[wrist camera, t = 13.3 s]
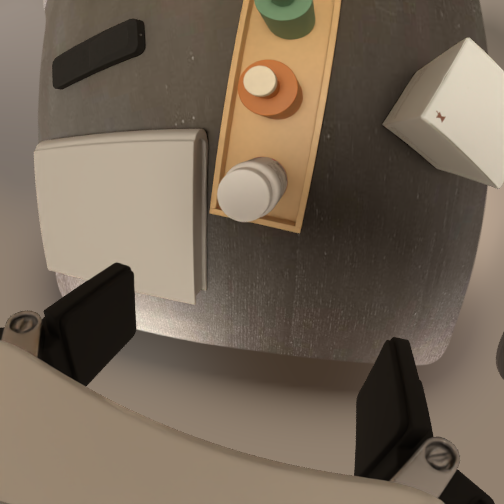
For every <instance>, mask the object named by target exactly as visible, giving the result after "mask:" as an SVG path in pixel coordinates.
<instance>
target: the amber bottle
mask: <svg viewBox="0 0 504 504" xmlns="http://www.w3.org/2000/svg"><path fill="white" fill-rule="evenodd" d="M238 95H239V98H240V100H241V102H242V103H243V105H244V106H245V107H246V108H247V109H248V110H250V111H251V112H253V113H255V114H258V115H261V116H264V117H267V118H270V119H275V120H281V119H286V118H288V117H290V116H292V115H293V114H295V113H296V112H297V111H298V109H299V108H300V106H301V104H302V100H303V93H302V89H301V86H300V84H299V82H298V80H297V78H296V76H295V74H294V73H293V71H292V70H291V69H290V68H289V67H288V66H287V65H285V64H284V63H282V62H279V61H276V60H270V59H269V60H260V61H257V62H255V63H253V64H251V65H250V66H248V67H247V68H246V69H245V70H244V71H243V73H242V74H241V76H240V78H239V81H238Z"/></svg>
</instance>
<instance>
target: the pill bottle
mask: <svg viewBox="0 0 504 504" xmlns="http://www.w3.org/2000/svg"><path fill="white" fill-rule="evenodd" d="M286 188H287V174H286V172H285V169H284V168H283V166H282V165H281V164H280V163H279V162H277V161H276V160H274V159H272V158H269V157H257V158H253V159H251V160H248V161H245V162H242V163H239V164H237V165H235V166H234V167H232V168H231V169H230V170H229V171H228V172H227V174H226V176H225V177H224V178H223V179H222V180H221V182H220V184H219V186H218V191H217V199H218V203H219V205H220V207H221V209H222V211H223V212H224V213H225V214H226V215H227V216H228V217H230V218H231V219H233V220H236V221H239V222H250V221H253V220H256V219H258V218H260V217H263V216H265V215H266V214H268V213H269V212H270V211H271V210H272V209H273V208H274V207H275V206H276V204H277V203H278V201H279V200H280V199H281V197H282V196H283V194H284V193H285V191H286Z"/></svg>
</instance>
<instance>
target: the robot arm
mask: <svg viewBox="0 0 504 504" xmlns="http://www.w3.org/2000/svg"><path fill="white" fill-rule="evenodd" d="M44 314H45V317H44V318H43V319H41V317H40V315H39V314H37V313H36V312H33V311H21V312H18V313H15V314H14V315H12V316H11V317H10V318H9V319H8V320H7V322H6V325H5V327H4V328H0V504H495V503H494V501H493V500H492V499H491V497H490V496H488V495H487V494H486V493H485V492H484V491H483V490H481V489H480V488H479V487H478V486H477V485H475V484H474V483H473V482H472V481H471V480H469V479H468V478H467V477H466V476H465V475H463V474H462V473H461V472H460V471H459V470H457V468H458V466H459V463H460V455H459V452H458V450H457V448H456V447H455V445H454V444H453V443H452V442H450V441H449V440H447V439H445V438H442V437H433V432H432V427H431V422H430V417H429V412H428V407H427V403H426V398H425V394H424V389H423V386H422V382H421V381H420V380H419V377H418V373H417V369H416V365H415V361H414V357H413V354H412V350H411V346H410V343H409V341H408V340H405V339H400V338H396V337H393V338H392V339H391V340H387V341H386V342H385V343H384V345H383V348H382V350H381V352H380V354H379V356H378V358H377V360H376V362H375V364H374V366H373V368H372V370H371V371H370V373H369V375H368V377H367V379H366V381H365V383H364V385H363V386H362V388H361V390H360V392H359V394H358V397H357V402H356V403H357V404H356V413H357V414H356V450H355V451H356V452H355V470H354V476H352V475H343V474H338V473H332V472H326V471H320V470H315V469H310V468H305V467H300V466H295V465H290V464H286V463H281V462H277V461H273V460H269V459H265V458H261V457H257V456H254V455H250V454H246V453H243V452H240V451H236V450H233V449H230V448H226V447H223V446H220V445H217V444H214V443H211V442H208V441H205V440H203V439H200V438H197V437H194V436H192V435H189V434H186V433H184V432H181V431H178V430H176V429H173V428H171V427H168V426H166V425H163V424H161V423H159V422H156V421H154V420H152V419H150V418H147V417H145V416H143V415H141V414H139V413H136V412H134V411H132V410H130V409H128V408H126V407H124V406H122V405H120V404H117V403H116V402H114V401H112V400H110V399H108V398H106V397H104V396H102V395H100V394H98V393H96V392H95V391H93V390H91V389H89V388H87V387H86V386H87V385H88V384H89V383H90V382H91V381H92V380H93V379H94V377H95V376H96V375H97V374H98V373H99V372H100V371H101V370H102V369H103V368H104V367H105V366H106V364H108V363H109V361H110V360H111V359H112V358H113V357H114V356H115V355H116V354H117V353H118V352H119V351H120V350H121V349H122V348H123V347H124V346H125V344H127V342H129V340H130V339H131V338H132V337H133V336H134V334H135V332H136V315H135V289H134V273H133V271H131V268H130V267H129V266H127V265H124V264H121V263H118V262H116V263H114V264H112V265H111V266H109V267H108V268H106V269H104V270H103V271H101V272H100V273H98V274H97V275H95V276H94V277H92V278H91V279H89V280H88V281H86V282H85V283H83V284H82V285H80V286H79V287H77V288H76V289H74V290H73V291H71V292H70V293H68V294H67V295H65V296H64V297H63V298H61V299H60V300H58V301H57V302H55V303H54V304H53V305H51V306H50V307H48V308H47V309H46V310H44Z"/></svg>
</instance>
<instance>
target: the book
mask: <svg viewBox="0 0 504 504" xmlns="http://www.w3.org/2000/svg"><path fill="white" fill-rule="evenodd" d="M34 168H35V181H36V194H37V204H38V212H39V220H40V227H41V234H42V240H43V246H44V251H45V256H46V261H47V267H48V270H51V271H54V272H58V273H62V274H65V275H69V276H73V277H76V278H80V279H84V280H89V279H91V278H92V277H94V276H95V275H97V274H98V273H100V272H101V271H103V270H104V269H106V268H108V267H109V266H111V265H112V264H114V263H116V262H118V263H121V264H124V265H127V266H129V267H130V268H131V271H133V273H134V289H135V292H138V293H142V294H147V295H151V296H156V297H160V298H165V299H170V300H174V301H179V302H184V303H189V304H194V305H195V304H196V295H197V294H198V293H199V291H200V290H205V291H206V290H207V169H208V140H207V135H206V132H205V131H204V130H203V129H160V130H140V131H124V132H112V133H101V134H91V135H82V136H74V137H67V138H59V139H53V140H46V141H42V142H40V143H39V144H38V145H37V146H36V150H35V151H34Z"/></svg>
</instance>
